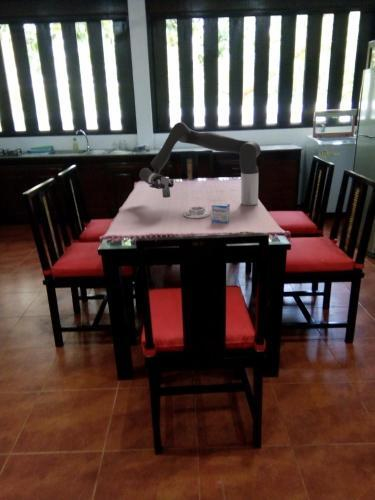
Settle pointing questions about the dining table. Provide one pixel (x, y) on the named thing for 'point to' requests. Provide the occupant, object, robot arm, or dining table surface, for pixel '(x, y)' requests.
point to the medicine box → (220, 213)
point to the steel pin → (165, 187)
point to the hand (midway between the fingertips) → (167, 186)
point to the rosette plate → (197, 212)
